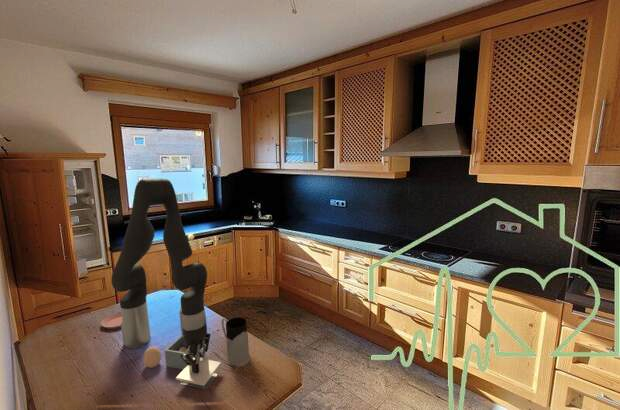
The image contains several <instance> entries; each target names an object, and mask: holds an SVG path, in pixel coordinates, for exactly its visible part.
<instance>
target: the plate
mask: <svg viewBox="0 0 620 410" xmlns="http://www.w3.org/2000/svg"><path fill="white" fill-rule="evenodd" d="M121 323H122V314H121V311H117V312H115V313H112V314H109V315H107V316H106V317H104V318H103V319H102V320H101V322H100V326H101V327H104V328H106V329H110V330H112V329H114V330H115V329H116V330H117V329H121Z"/></svg>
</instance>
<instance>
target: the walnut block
mask: <svg viewBox="0 0 620 410" xmlns="http://www.w3.org/2000/svg"><path fill="white" fill-rule="evenodd" d="M185 351H186V347H181V348H180V350H179V352H185Z"/></svg>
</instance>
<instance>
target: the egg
mask: <svg viewBox="0 0 620 410" xmlns="http://www.w3.org/2000/svg"><path fill="white" fill-rule="evenodd" d="M142 359H143V360H142V361H143V363H144V366H145V367H147V368H151V369H152V368H155V367H157V366H158V365H159V364H160V362H161V360H162V354H161V350H160V349H159V348H157V347H156V346H150V347H148V348H147V349H146V350H145V352H144V354H143V358H142Z"/></svg>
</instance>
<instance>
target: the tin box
mask: <svg viewBox="0 0 620 410" xmlns="http://www.w3.org/2000/svg"><path fill="white" fill-rule="evenodd" d="M181 347H186V341H185V340H184V338H183V336H182V335H180V336H179V337H177V339H176V340H175V341H173V342H172V343H171V344H170V345H169V346H168V347H166V349H165V350H164V356H165V363H166V364H165V365H166V367H168V368H175V369H180V370H184V369H185V367H186V366H187V365H186V364H185V362H184V361H183V360H182V358H181V354H182V353H183V354H184V353H185V352H179V350H180V348H181Z"/></svg>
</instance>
